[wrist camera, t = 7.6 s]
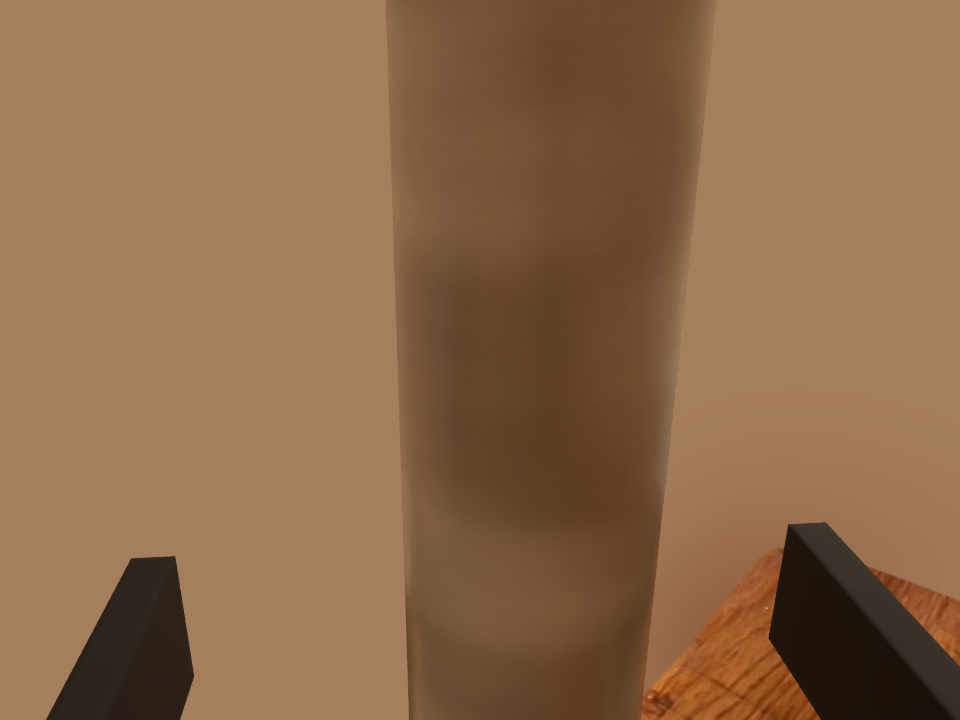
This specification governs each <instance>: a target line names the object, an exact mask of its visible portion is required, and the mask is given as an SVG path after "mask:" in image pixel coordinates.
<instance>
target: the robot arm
mask: <svg viewBox="0 0 960 720" xmlns="http://www.w3.org/2000/svg"><path fill="white" fill-rule="evenodd" d="M769 640H770V641H771V643H772V644H773V646H774V647H775V649H776V651H777V652H778V654H779V655H780V657H781V658H782V660H783V661H784V663H785V664H786V666H787V668H788V669H789V671H790V672H791V674H792V675H793V677H794V678H795V680H796V681H797V683H798V685H799V686H800V688H801V689H802V691H803V692H804V694H805V695H806V697H807V699H808V700H809V702H810V703H811V705H812V706H813V708H814V709H815V711H816V712H817V714H818V716H819V717H820V719H821V720H960V666H959V665H958V664H957V663H956V662H955V661H954V660H953V659H952V658H951V657H950V656H949V654H948V653H947V652H946V651H945V650H944V649H943V648H942V647H941V646H940V645H939V644H938V643H937V642H936V641H935V639H934V638H933V637H932V636H931V635H930V634H929V633H928V632H927V631H926V630H925V629H924V628H923V627H922V625H921V624H920V623H919V622H918V621H917V620H916V619H915V618H914V617H913V616H912V615H911V614H910V613H909V611H908V610H907V609H906V608H905V607H904V606H903V605H902V604H901V603H900V602H899V601H898V600H897V599H896V597H895V596H894V595H893V594H892V593H891V592H890V591H889V590H888V589H887V588H886V587H885V586H884V585H883V584H882V582H881V581H880V580H879V579H878V578H877V577H876V576H875V575H874V574H873V573H872V572H871V571H870V570H869V568H868V567H867V566H866V565H865V564H864V563H863V562H862V561H861V560H860V559H859V558H858V557H857V556H856V554H855V553H854V552H853V551H852V550H851V549H850V548H849V547H848V546H847V545H846V544H845V543H844V542H843V541H842V539H841V538H840V537H839V536H838V535H837V534H836V533H835V532H834V531H833V530H832V529H831V528H830V527H829V525H828V524H827V523H806V524H789V525H788V530H787V535H786V541H785V547H784V552H783V558H782V564H781V570H780V575H779V581H778V587H777V592H776V598H775V604H774V610H773V615H772V621H771V627H770V632H769ZM193 678H194V673H193V666H192V660H191V653H190V647H189V641H188V634H187V628H186V623H185V615H184V609H183V603H182V596H181V590H180V584H179V577H178V571H177V564H176V558H175V556H171V557H152V558H132V559H131V560H130V562H129V564H128V566H127V567H126V569H125V571H124V573H123V575H122V577H121V579H120V581H119V583H118V585H117V587H116V589H115V590H114V592H113V594H112V596H111V598H110V600H109V602H108V603H107V605H106V607H105V609H104V611H103V613H102V615H101V617H100V619H99V620H98V622H97V625H96V626H95V628H94V630H93V632H92V634H91V636H90V638H89V639H88V641H87V643H86V645H85V647H84V649H83V651H82V653H81V655H80V656H79V658H78V660H77V662H76V664H75V666H74V668H73V670H72V672H71V673H70V675H69V677H68V679H67V681H66V683H65V685H64V687H63V689H62V691H61V693H60V694H59V696H58V698H57V700H56V702H55V704H54V706H53V708H52V709H51V711H50V713H49V715H48V717H47V719H46V720H180V718H181V715H182V712H183V709H184V706H185V703H186V700H187V697H188V694H189V691H190V687H191V684H192V681H193Z"/></svg>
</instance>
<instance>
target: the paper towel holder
mask: <svg viewBox="0 0 960 720" xmlns="http://www.w3.org/2000/svg"><path fill="white" fill-rule="evenodd" d="M716 2H717V0H386V21H387V50H388V81H389V113H390V142H391V172H392V173H391V174H392V202H393V203H392V204H393V234H394V235H393V236H394V264H395V297H396V326H397V327H396V328H397V358H398V388H399V419H400V450H401V479H402V480H401V481H402V510H403V541H404V574H405V604H406V634H407V666H408V694H409V720H640V718H641V709H642V700H643V690H644V681H645V680H644V679H645V671H646V661H647V652H648V642H649V632H650V624H651V615H652V605H653V596H654V586H655V577H656V568H657V558H658V549H659V539H660V530H661V519H662V510H663V501H664V492H665V482H666V473H667V463H668V453H669V444H670V435H671V426H672V417H673V407H674V398H675V388H676V379H677V369H678V360H679V350H680V340H681V330H682V322H683V313H684V303H685V294H686V284H687V275H688V266H689V255H690V246H691V237H692V228H693V218H694V209H695V200H696V190H697V180H698V171H699V162H700V151H701V143H702V134H703V124H704V115H705V105H706V95H707V86H708V77H709V68H710V57H711V49H712V39H713V30H714V20H715V10H716Z"/></svg>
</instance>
